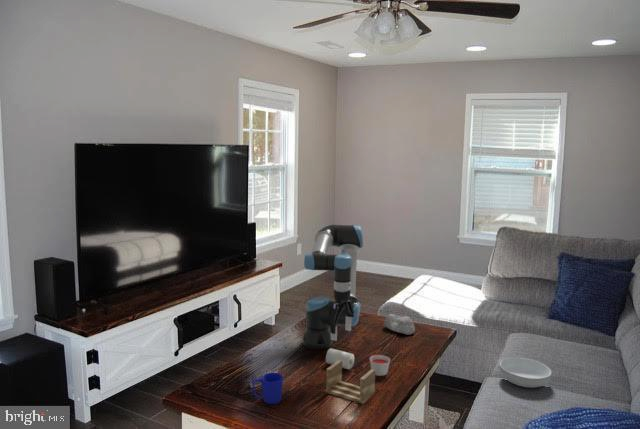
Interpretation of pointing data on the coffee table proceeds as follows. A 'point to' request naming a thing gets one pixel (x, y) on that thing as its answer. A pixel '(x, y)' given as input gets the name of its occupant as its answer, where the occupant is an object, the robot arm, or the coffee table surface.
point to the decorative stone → (399, 324)
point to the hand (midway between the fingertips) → (341, 335)
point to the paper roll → (340, 358)
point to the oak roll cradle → (346, 389)
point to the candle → (380, 364)
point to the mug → (270, 387)
